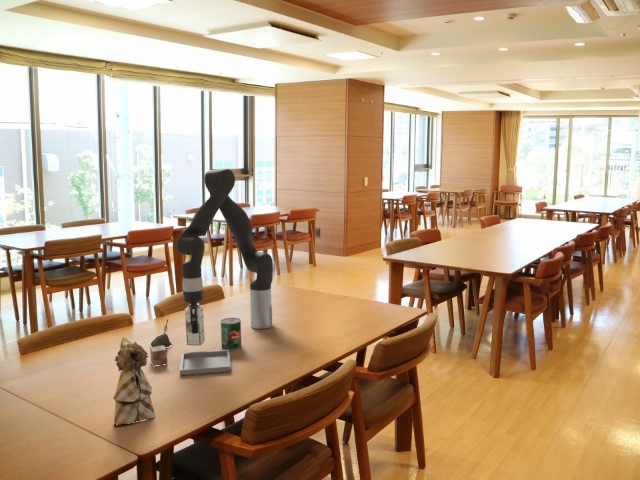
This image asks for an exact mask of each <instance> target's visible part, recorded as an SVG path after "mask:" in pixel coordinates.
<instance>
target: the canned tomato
mask: <svg viewBox="0 0 640 480" xmlns="http://www.w3.org/2000/svg"><path fill="white" fill-rule="evenodd" d="M241 323H242V321H241V318H239V317H226V318H223V319H221V320H220V331H221V332H220V334H221V335H220V336H221V339H220V340H221V349H222V350H229V351H236V350H237V351H238V350H239V349H241V348H242V328H241V327H242V326H241Z"/></svg>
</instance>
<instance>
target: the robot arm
mask: <svg viewBox="0 0 640 480" xmlns="http://www.w3.org/2000/svg"><path fill="white" fill-rule="evenodd" d="M203 178H204V185H205V187H206V190H207V191H208V193H209V194H210V196H209V197H208V199H207V200H205V201H204V202H203V203H202V204H201V205H200V207H199V208H197V209H196V212H195V214H194V215H193V217H192V219H191V221H190V224H189V225H188V226H187V227H186V228H185V229H184V231H182V233H181V234H180V236H179V237H178V238H177V240H176V245H175V248H176V251H177V253H179V254H180V255H182V256H183V255H186V256H190V260H185V261H184V262H182V266H181V270H182V271H181V272H182V282H181V283H182V296H183V297H182V298H183V301H184V303H190V304H188V306H189V310H190V312H189V316H190V318H191V322H190V323H191V324H192V333H193V334H196V333H198V317H199V316H197V309H199V306H200V303H199V302H202V301H203V300H204V289H203V288H204V286H203V285H204V283H203V277H202V264H203V263H202V262H203V258H204V253H205V246H206V245H205V242H204V240H203V239H202V237H203V236H205V235H206V234H207V233H208V231H209V229H210V227H211V224H212V222H213V220H214V218H215V216H216V214H217V212H218V211H220V212H221V214H222V216H223V218H224V221H225V222H226V225H227V227H228V229H229V231H230V232H231V235H232V237H233V239H234V240H235V241H234V242H235V243H236V245H237V247H238V249H239V252H240V254H241V257H242V260H243V262H244V265H245V267H246V269H247V270H248V271H249V272H252V273H253V274H254V273H256V279H254V280H252V281H250V282H249V297H250V302H249V303H250V304H249V305H250V327H251V328H252V329H255V330H258V329H259V330H261V329H269V328H273V306H272V283H273V279H274V278H273V274H274V261H273V257H272V256H271V254H269V253H267V252H261V251H258V250H257V249H256V247H255V245H254V243H253V239H252V236H253V224H252V222H251V220H250V218H249V216H248V214H247V212H246V211H245V210H244V209H243V208H242V207H241V205H239V204H238V203H237V202H235V201H234V200H233V199H232V198H231V197H230V196H229V195H230V193H231V192H232V190H233V189H234V187H235V183H236V177H235V174H234V172H233V171H232V170H231V169H230V168H219V169H218V168H217V169H211V170H208V171H206V172H205V175H204V177H203ZM192 318H196V321H192Z"/></svg>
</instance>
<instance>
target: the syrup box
mask: <svg viewBox="0 0 640 480" xmlns="http://www.w3.org/2000/svg"><path fill="white" fill-rule="evenodd" d="M189 312H190V310H189V305H188V306H186V308H184V318H185V319H184V320H185V333H186V334H185V335H186V345H187V346H202V345H203V344H204V343H205V341H206V336H205V319H204V317H205V316H204V306H203V305H199V309H197V316H199V317H198V333H196V334H193V333H192V324H191V323H190V322H191V318H190V316H189ZM192 321H196V318H192Z"/></svg>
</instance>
